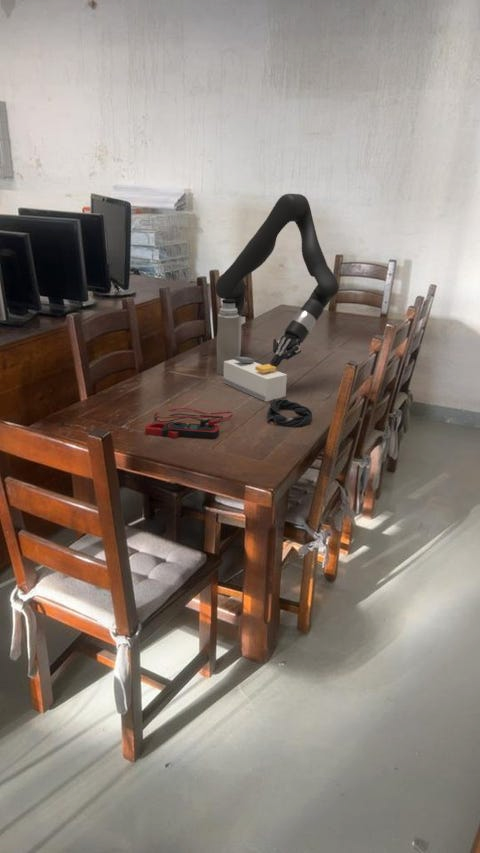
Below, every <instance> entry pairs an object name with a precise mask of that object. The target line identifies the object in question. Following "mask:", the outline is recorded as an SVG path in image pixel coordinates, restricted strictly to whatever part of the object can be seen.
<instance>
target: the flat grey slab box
mask: <svg viewBox="0 0 480 853" xmlns="http://www.w3.org/2000/svg"><path fill="white" fill-rule="evenodd" d="M234 360H236V361H239V362H243V363H245V364H248V363H254V362H255V359H253V358H251V357H248V356H239V357H237V356H235V358H234Z"/></svg>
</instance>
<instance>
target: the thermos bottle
mask: <svg viewBox="0 0 480 853" xmlns="http://www.w3.org/2000/svg"><path fill="white" fill-rule="evenodd" d="M221 300H222V301H221V303H222V304H221V306H222V308H220V307H219V309H220V311H219V310H218V313H217V333H218V334H217V333H216V363H217V364H216V373H217V374H218V375H221V376H224V361H228V360H233V359H234V358H235V356H237V357H238V340H239V315H238V314H237V312H238V311H237V308H235V300H233V299H221ZM219 312H220V314H219Z"/></svg>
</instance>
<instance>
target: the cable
mask: <svg viewBox="0 0 480 853" xmlns="http://www.w3.org/2000/svg"><path fill="white" fill-rule="evenodd" d="M269 405H270V407H269V408H268V410H267V414H266V418H267V421H272V422H273V423H275V424H276V423H279V424H281V425H283V426H285V427H289V428H297V427H300V426H303V427H304V426H306V425H308V424H309V423H311V420H312V417H313V413H312V411H311V409H310V408H308V407H307V406H304V405H301V404H300V403H298V402H295V401H293V402H292V401H290V400H289V399H286V398H284V399H282V398H278V399H273V400H272V402H271V401H270V402H269ZM278 408H279V409H285V410H293V411H294V412H295V413H300V414H301V413H302V415H297V416H292V417H291V418H287V417H286V416H285V415H282V414H281V413H280V412H279V411H278Z"/></svg>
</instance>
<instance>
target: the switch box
mask: <svg viewBox="0 0 480 853" xmlns="http://www.w3.org/2000/svg"><path fill="white" fill-rule="evenodd" d="M261 365H262V364H261V363H259V362H256V361H254V363H248V364H245V363H243V362H239V361H236V360H234V359H233V360H228V361H224V375H223V380H222V381H223V383H224V384H226V385H229V387H230V386H231V387H232V388H235V389H237V390H240V391H241V392H244V393H246V394H249V395H250V396H252V397H254V398H257V399H260V400H261V401H264V402H269V401H270V402H271V401H273V399H275V400H279V399H283V398H285V397H286V395H287V394H286V393H287V380H288V379H287V377H288V374H286V373H283V372H281V371H280V370H279V371H278V370H277V369H276V370H275V371H270V373H268V372H265V373H262V372H259V371H257V370H255V366H261Z"/></svg>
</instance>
